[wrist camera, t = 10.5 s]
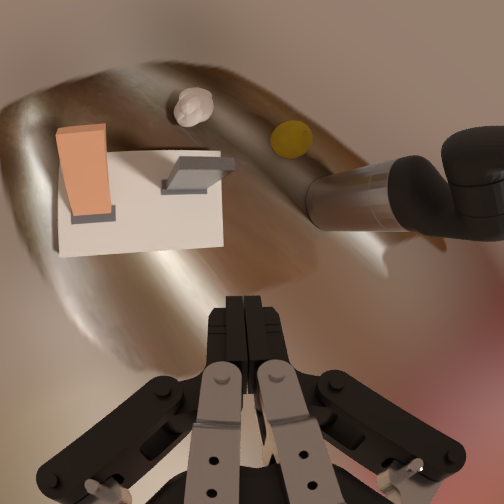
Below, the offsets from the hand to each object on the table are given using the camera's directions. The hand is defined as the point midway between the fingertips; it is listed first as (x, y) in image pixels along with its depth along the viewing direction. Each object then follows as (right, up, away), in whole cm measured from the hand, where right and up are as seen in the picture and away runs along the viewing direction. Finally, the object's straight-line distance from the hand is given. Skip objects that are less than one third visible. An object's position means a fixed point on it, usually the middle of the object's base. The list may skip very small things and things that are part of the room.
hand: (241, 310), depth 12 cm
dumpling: (-8, +23, +25) cm, 35 cm away
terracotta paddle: (-19, +7, +19) cm, 28 cm away
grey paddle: (-8, +11, +23) cm, 27 cm away
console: (-14, +9, +23) cm, 28 cm away
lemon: (+4, +19, +30) cm, 36 cm away
